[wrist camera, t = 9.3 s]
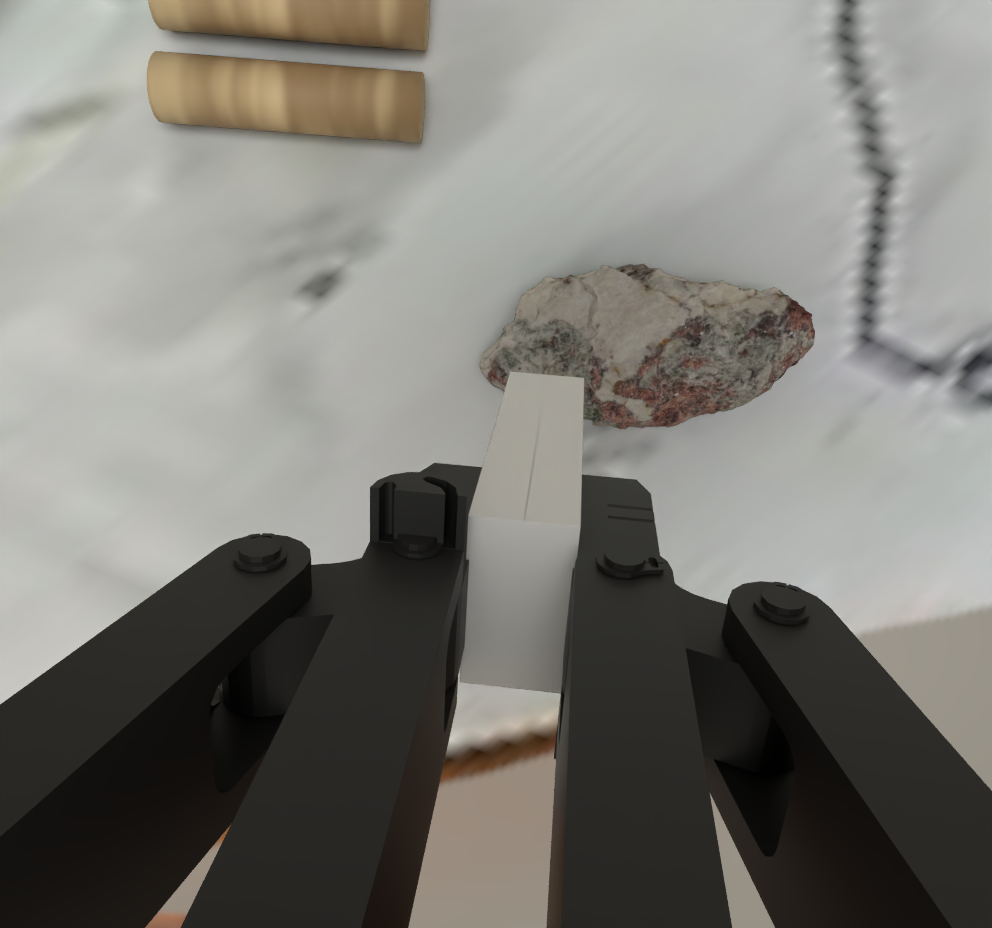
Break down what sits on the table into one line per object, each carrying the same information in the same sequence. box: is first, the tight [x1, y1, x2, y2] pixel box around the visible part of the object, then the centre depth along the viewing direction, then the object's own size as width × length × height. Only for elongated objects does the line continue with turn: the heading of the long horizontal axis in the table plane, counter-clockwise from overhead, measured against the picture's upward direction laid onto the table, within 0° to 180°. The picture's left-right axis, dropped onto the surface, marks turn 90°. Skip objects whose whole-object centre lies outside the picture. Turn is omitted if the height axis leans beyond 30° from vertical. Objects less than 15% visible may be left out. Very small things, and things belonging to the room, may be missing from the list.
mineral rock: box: [479, 264, 815, 429], centre depth 41 cm, size 15×8×4 cm, turn 79°
